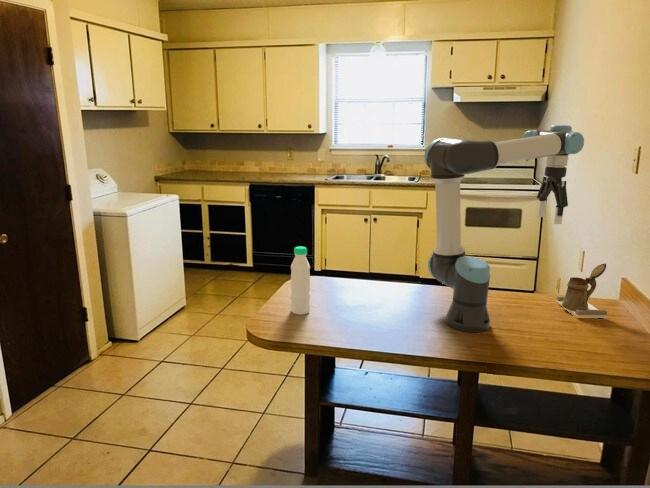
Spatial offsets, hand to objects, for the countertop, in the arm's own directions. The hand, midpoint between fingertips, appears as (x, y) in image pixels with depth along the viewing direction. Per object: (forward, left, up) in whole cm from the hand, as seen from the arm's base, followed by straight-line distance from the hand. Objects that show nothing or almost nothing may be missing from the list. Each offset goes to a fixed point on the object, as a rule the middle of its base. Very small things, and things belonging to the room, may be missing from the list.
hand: (548, 220), depth 195 cm
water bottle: (-98, -15, -33) cm, 104 cm away
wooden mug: (+10, -14, -31) cm, 36 cm away
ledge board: (+10, -14, -33) cm, 37 cm away
